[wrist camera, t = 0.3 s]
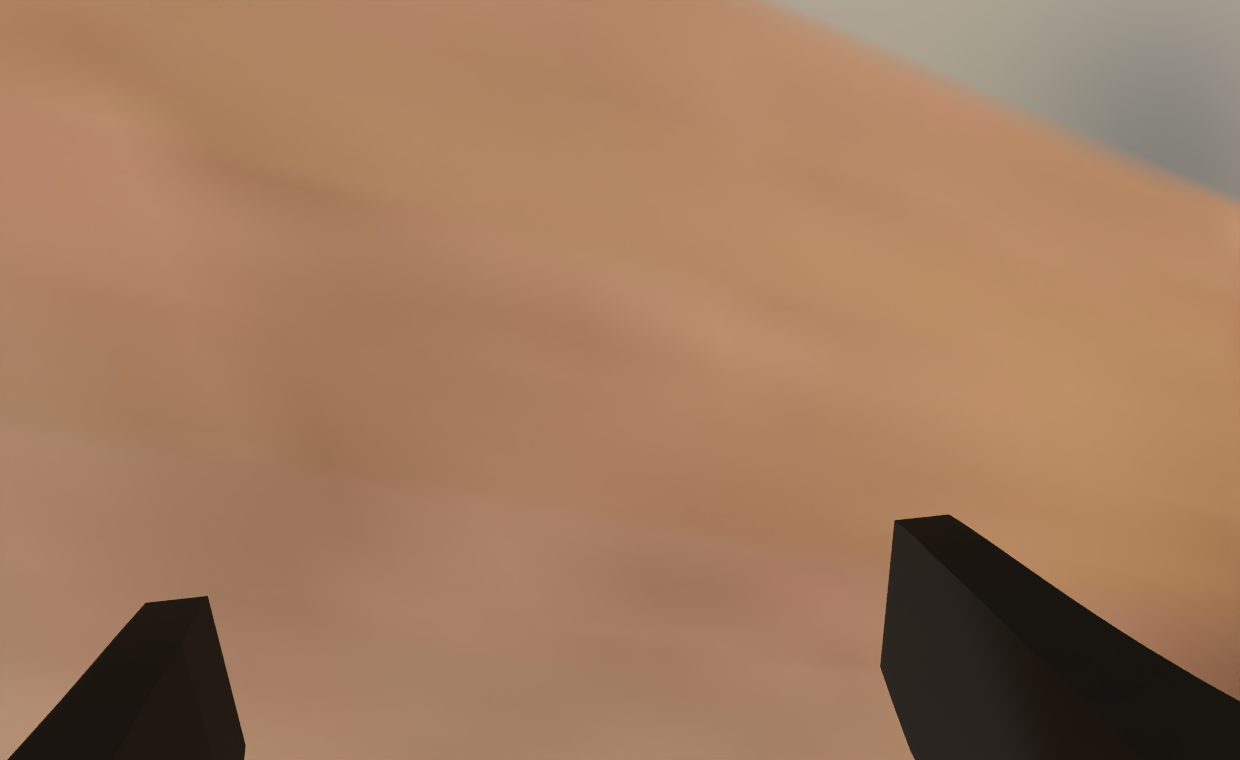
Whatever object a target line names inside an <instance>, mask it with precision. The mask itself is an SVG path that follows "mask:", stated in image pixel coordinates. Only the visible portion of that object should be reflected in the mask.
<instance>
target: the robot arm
mask: <svg viewBox="0 0 1240 760" xmlns="http://www.w3.org/2000/svg"><path fill="white" fill-rule="evenodd" d="M880 667H881V670H882V673H883V676H884V679H885V682H886V685H887V687H888V690H889V693H890V696H891V699H892V702H893V705H894V708H895V711H896V713H897V716H898V719H899V721H900V724H901V727H902V729H903V732H904V735H905V737H906V740H907V743H908V745H909V748H910V751H911V753H912V755H913V757H914V759H915V760H1240V701H1238V700H1236V699H1235V698H1233V697H1231V696H1229V695H1227V694H1225V693H1224V692H1222V691H1220V690H1218V689H1216V688H1215V687H1213V686H1211V685H1209V684H1207V683H1206V682H1204V681H1202V680H1200V679H1199V678H1197V677H1195V676H1194V675H1192V674H1190V673H1189V672H1187V671H1185V670H1184V669H1182V668H1180V667H1179V666H1177V665H1175V664H1174V663H1172V662H1170V661H1169V660H1167V659H1165V658H1164V657H1162V656H1160V655H1159V654H1157V653H1155V652H1154V651H1152V650H1150V649H1149V648H1147V647H1145V646H1144V645H1142V644H1140V643H1139V642H1137V641H1136V640H1134V639H1133V638H1131V637H1129V636H1128V635H1126V634H1125V633H1123V632H1122V631H1120V630H1118V629H1117V628H1115V627H1114V626H1112V625H1111V624H1109V623H1108V622H1106V621H1105V620H1103V619H1102V618H1100V617H1098V616H1097V615H1095V614H1094V613H1092V612H1091V611H1089V610H1088V609H1086V608H1085V607H1083V606H1082V605H1080V604H1079V603H1078V602H1076V601H1075V600H1073V599H1072V598H1070V597H1069V596H1067V595H1066V594H1064V593H1063V592H1061V591H1060V590H1058V589H1057V588H1055V587H1054V586H1053V585H1051V584H1050V583H1048V582H1047V581H1045V580H1044V579H1042V578H1041V577H1040V576H1038V575H1037V574H1035V573H1034V572H1032V571H1031V570H1030V569H1028V568H1027V567H1025V566H1024V565H1022V564H1021V563H1020V562H1018V561H1017V560H1015V559H1014V558H1012V557H1011V556H1010V555H1008V554H1007V553H1005V552H1004V551H1002V550H1001V549H1000V548H998V547H997V546H995V545H994V544H992V543H991V542H990V541H988V540H987V539H985V538H984V537H982V536H981V535H979V534H978V533H977V532H975V531H974V530H972V529H971V528H969V527H968V526H966V525H965V524H963V523H962V522H960V521H958V520H957V519H955V518H954V517H952V516H951V515H940V516H931V517H921V518H912V519H903V520H895V521H894V531H893V542H892V552H891V562H890V572H889V583H888V593H887V603H886V613H885V623H884V634H883V644H882V654H881V664H880ZM244 756H245V742H244V738H243V734H242V730H241V726H240V722H239V718H238V714H237V710H236V706H235V702H234V698H233V694H232V690H231V686H230V682H229V678H228V674H227V670H226V667H225V663H224V659H223V655H222V651H221V647H220V643H219V639H218V635H217V631H216V627H215V623H214V619H213V615H212V611H211V607H210V603H209V599H208V596H204V597H195V598H186V599H177V600H168V601H159V602H149V603H145V604H144V605H143V607H142V608H141V609H140V610H139V611H138V612H137V613H136V614H135V616H134V617H133V618H132V619H131V620H130V621H129V622H128V623H127V624H126V625H125V627H124V628H123V629H122V630H121V631H120V632H119V633H118V635H117V636H116V637H115V638H114V639H113V640H112V642H111V643H110V644H109V645H108V646H107V647H106V648H105V650H104V651H103V652H102V653H101V654H100V655H99V657H98V658H97V659H96V660H95V661H94V663H93V664H92V665H91V666H90V667H89V668H88V670H87V671H86V672H85V673H84V674H83V675H82V676H81V678H80V679H79V680H78V681H77V682H76V683H75V685H74V686H73V687H72V688H71V689H70V690H69V691H68V693H67V694H66V695H65V696H64V697H63V698H62V700H61V701H60V702H59V703H58V704H57V705H56V706H55V708H54V709H53V710H52V711H51V712H50V713H49V714H48V715H47V716H46V718H45V719H44V720H43V721H42V722H41V723H40V724H39V725H38V726H37V728H36V729H35V730H34V731H33V732H32V733H31V734H30V735H29V736H28V738H27V739H26V740H25V741H24V742H23V743H22V744H21V745H20V746H19V748H18V749H17V750H16V751H15V752H14V753H13V754H12V755H11V756H10V758H9V759H8V760H244Z"/></svg>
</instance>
